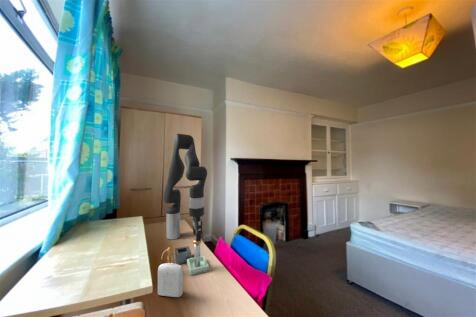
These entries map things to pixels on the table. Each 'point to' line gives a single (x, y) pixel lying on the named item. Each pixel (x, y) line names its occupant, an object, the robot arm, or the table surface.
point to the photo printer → (170, 280)
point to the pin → (196, 253)
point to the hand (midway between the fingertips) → (196, 237)
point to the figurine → (169, 253)
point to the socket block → (182, 254)
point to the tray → (194, 270)
